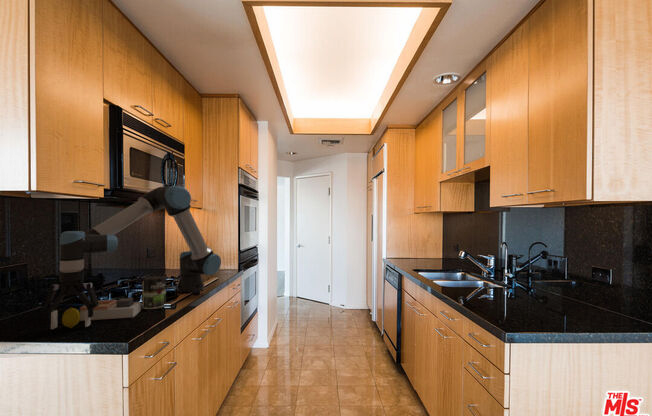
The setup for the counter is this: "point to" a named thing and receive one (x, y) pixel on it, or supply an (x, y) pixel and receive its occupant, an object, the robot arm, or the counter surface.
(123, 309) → the box
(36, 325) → the counter surface
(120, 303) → the breaker button
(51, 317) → the robot arm
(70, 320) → the lemon
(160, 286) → the coffee can
